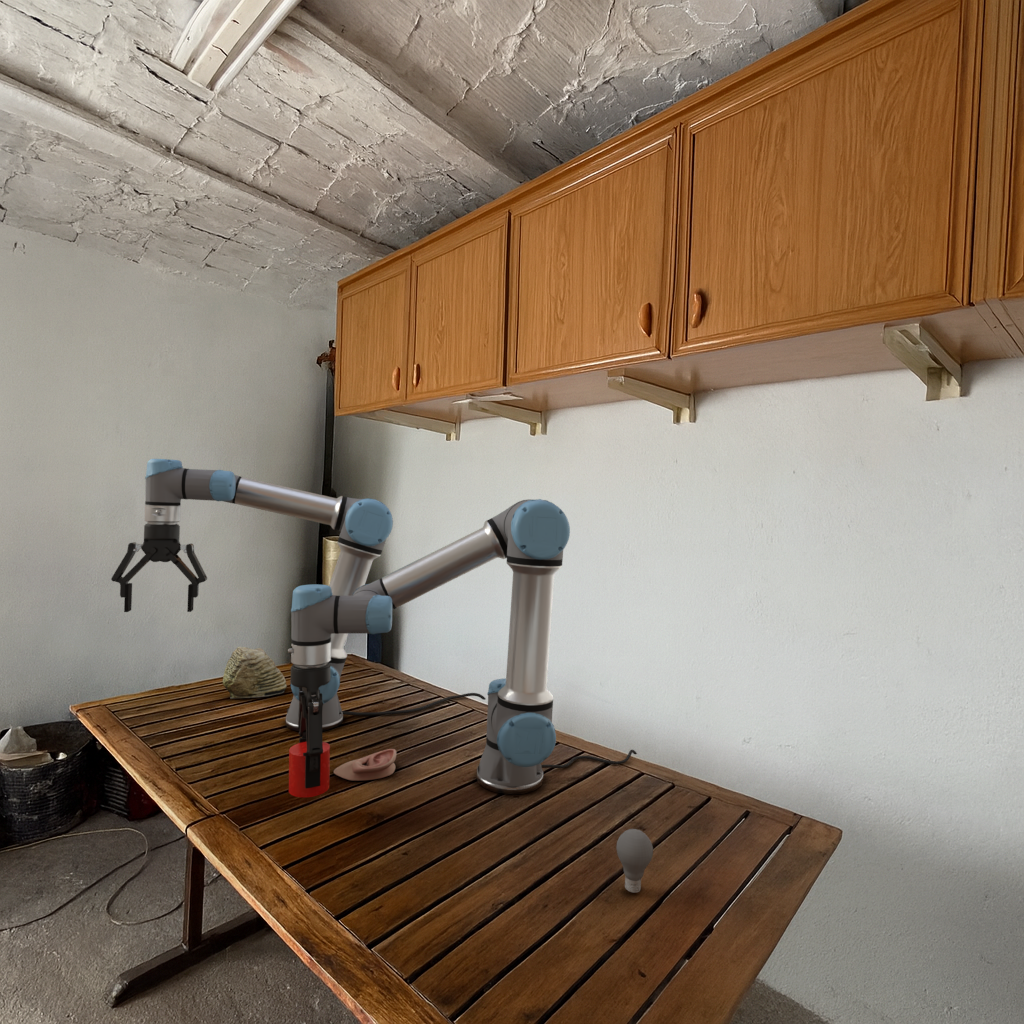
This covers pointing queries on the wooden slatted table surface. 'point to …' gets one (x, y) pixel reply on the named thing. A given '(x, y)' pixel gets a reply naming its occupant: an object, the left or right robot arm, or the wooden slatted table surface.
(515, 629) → the right robot arm
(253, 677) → the fossil
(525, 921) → the wooden slatted table surface
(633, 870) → the light bulb
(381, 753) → the anatomical model
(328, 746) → the cylinder
